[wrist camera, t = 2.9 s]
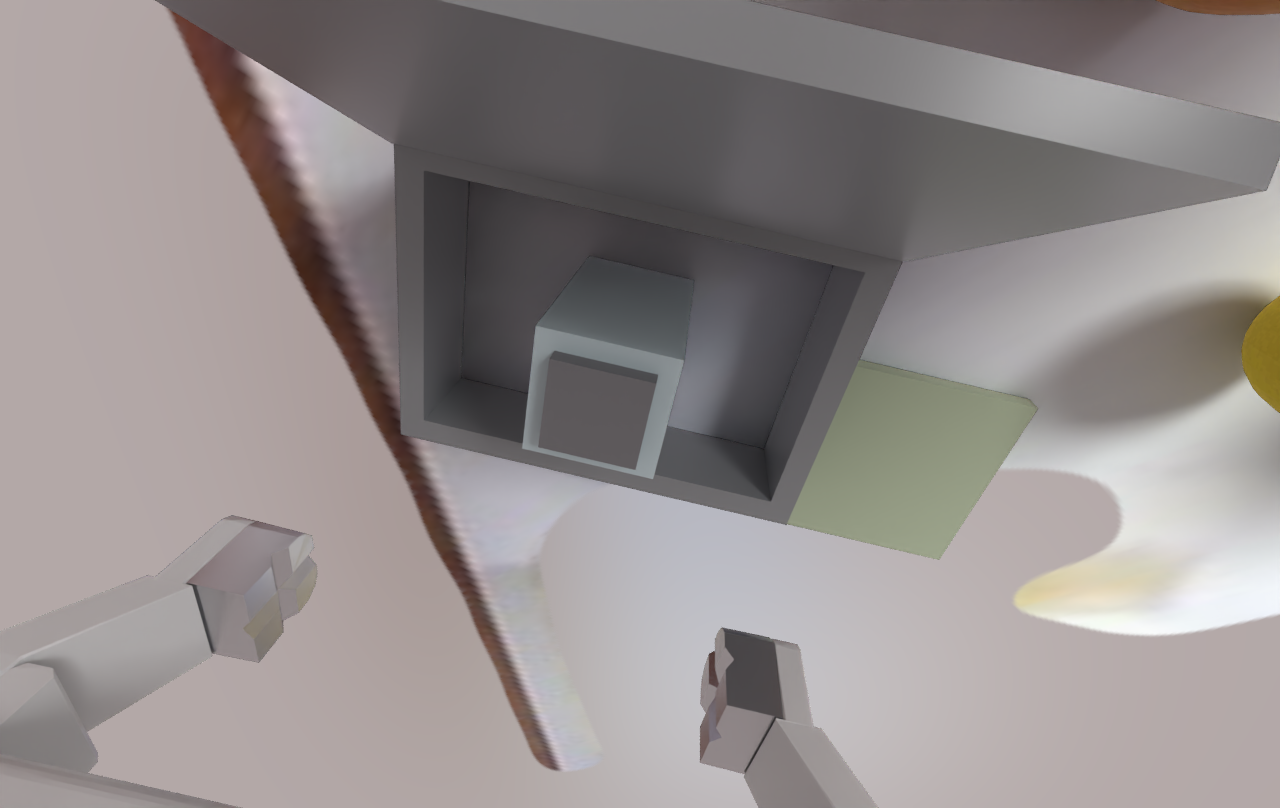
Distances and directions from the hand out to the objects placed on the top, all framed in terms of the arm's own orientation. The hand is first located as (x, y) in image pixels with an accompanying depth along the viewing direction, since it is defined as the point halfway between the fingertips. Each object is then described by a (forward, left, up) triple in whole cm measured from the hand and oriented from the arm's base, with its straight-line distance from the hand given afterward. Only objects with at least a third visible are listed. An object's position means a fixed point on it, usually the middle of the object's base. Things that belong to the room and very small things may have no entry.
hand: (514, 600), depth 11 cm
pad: (-13, +4, -16) cm, 21 cm away
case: (0, -2, -16) cm, 16 cm away
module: (0, 0, -16) cm, 16 cm away
